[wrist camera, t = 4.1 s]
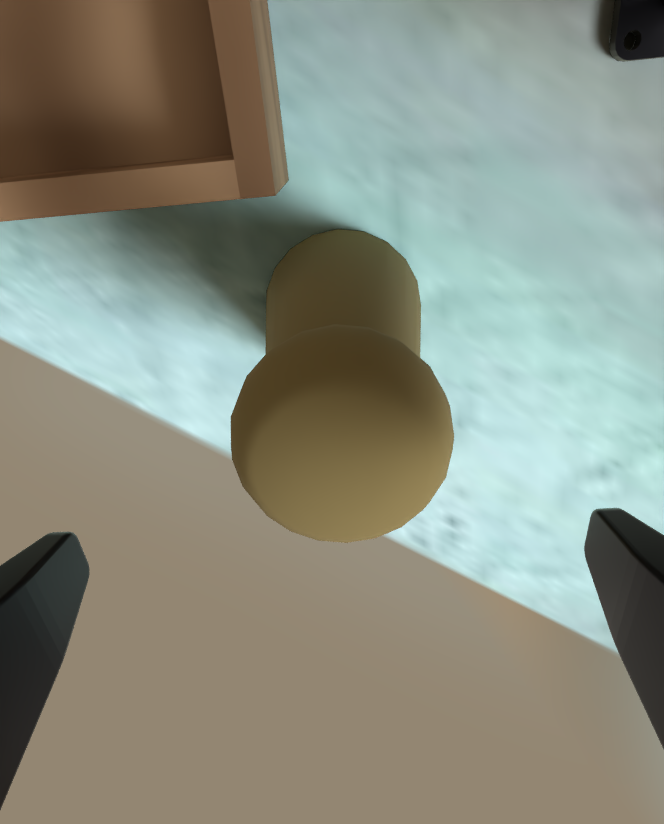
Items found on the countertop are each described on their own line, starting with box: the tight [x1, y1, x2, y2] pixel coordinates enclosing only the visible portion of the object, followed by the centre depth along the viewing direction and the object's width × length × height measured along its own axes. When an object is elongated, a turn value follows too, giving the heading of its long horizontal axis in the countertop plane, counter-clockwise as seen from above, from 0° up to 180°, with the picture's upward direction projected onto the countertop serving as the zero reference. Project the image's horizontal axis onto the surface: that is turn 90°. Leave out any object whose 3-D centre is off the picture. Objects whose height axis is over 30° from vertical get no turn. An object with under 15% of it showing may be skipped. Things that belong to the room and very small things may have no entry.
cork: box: [231, 229, 454, 543], centre depth 16 cm, size 6×6×11 cm
